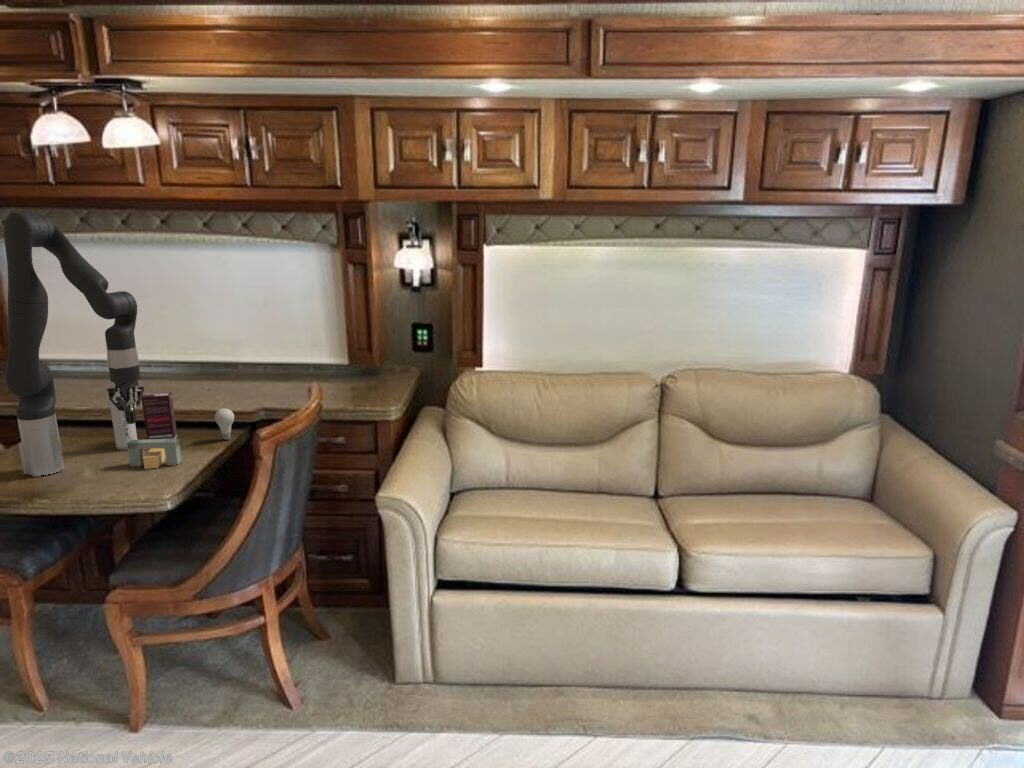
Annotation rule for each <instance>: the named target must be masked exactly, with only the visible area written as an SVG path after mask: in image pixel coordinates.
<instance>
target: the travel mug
mask: <svg viewBox="0 0 1024 768" xmlns="http://www.w3.org/2000/svg"><path fill="white" fill-rule="evenodd" d="M106 391H107V392H108V399H109V408H110V415H111V420H112V427H113V435H114V440H115V447H116V450H117V451H128V447H127V443H128V442H129V441H131V440H138V433H137V427H136V423H134V424H127V423H126V417H125V412H124V411H119V410H118V409H117V408H116V406H115V405H114V404H113V403H112V402H111V400H110V397H114V395H115V393H116V392H115V387H114V388H113V387H109V388H107V390H106Z"/></svg>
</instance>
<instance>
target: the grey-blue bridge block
mask: <svg viewBox="0 0 1024 768" xmlns="http://www.w3.org/2000/svg"><path fill="white" fill-rule="evenodd" d="M127 447H128V450H127V453H128V459H129V460H128V461H129V466H130V467H142V466H144V461H143V457H144V456H145V455H146V453H145V449H147V450H148V449H149V450H150V449H153V448H165V456H166V459H165V464H166V465H167V464H169V465H170V464H179V463H180V462H181V461H182V453H181V446H180V438H175V439H137V440H131V441H129V442H128V443H127ZM181 463H182V462H181ZM181 463H180V464H181ZM180 464H179V465H180ZM141 465H142V466H141Z"/></svg>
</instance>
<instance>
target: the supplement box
mask: <svg viewBox="0 0 1024 768" xmlns="http://www.w3.org/2000/svg"><path fill="white" fill-rule="evenodd" d="M141 405H142V411H143V412H142V413H143V419H144V424H145V431H146V438H147V439H177V437H178V432H177V431H178V430H177V424H176V423H177V422H176V416H175V409H174V401H173V395H172V392H171V391H168V392H152V393H143V395H142V399H141ZM147 439H146V440H147Z"/></svg>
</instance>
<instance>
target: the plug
mask: <svg viewBox="0 0 1024 768" xmlns="http://www.w3.org/2000/svg"><path fill="white" fill-rule="evenodd" d="M165 458H166V456H165V448H153V449H149V450H148V452H146V453H145V456H144V457H143V461H144V464H143V468H144V470H146V469H145V468H155V467H159V466H160V464H161V463H162V462H163V461H164V459H165ZM165 460H166V459H165ZM164 462H165V461H164ZM164 462H163V463H164ZM163 463H162V464H163ZM162 464H161V465H162ZM160 467H161V466H160ZM160 467H159V468H160Z"/></svg>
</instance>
